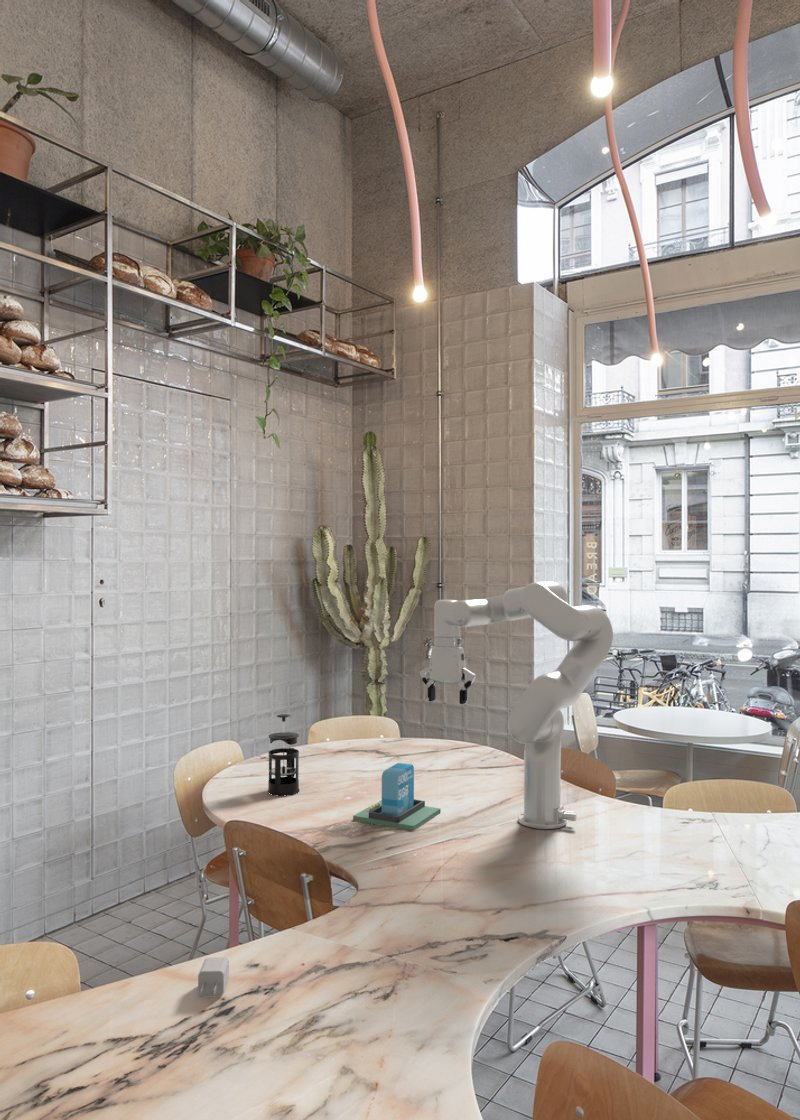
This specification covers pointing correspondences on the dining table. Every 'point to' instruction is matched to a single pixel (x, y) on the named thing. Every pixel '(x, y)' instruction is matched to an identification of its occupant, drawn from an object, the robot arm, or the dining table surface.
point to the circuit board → (404, 821)
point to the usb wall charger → (213, 977)
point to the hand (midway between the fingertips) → (447, 702)
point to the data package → (397, 789)
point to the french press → (279, 783)
